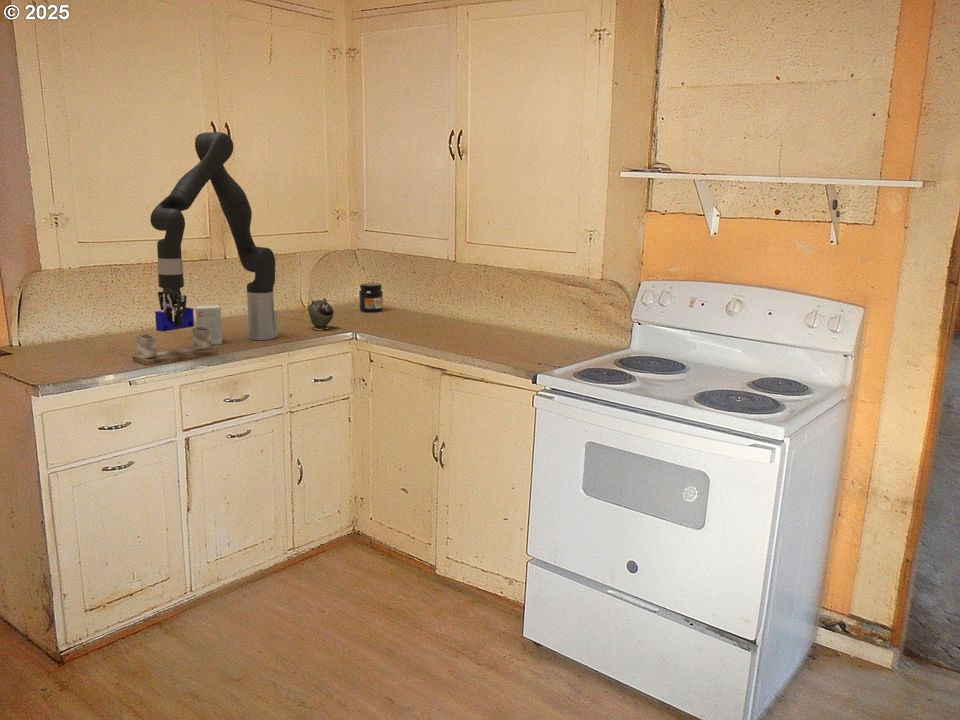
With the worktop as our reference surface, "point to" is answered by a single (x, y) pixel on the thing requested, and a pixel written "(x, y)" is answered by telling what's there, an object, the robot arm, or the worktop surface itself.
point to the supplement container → (371, 297)
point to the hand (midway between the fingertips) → (173, 325)
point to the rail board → (151, 357)
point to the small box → (210, 321)
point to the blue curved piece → (165, 325)
